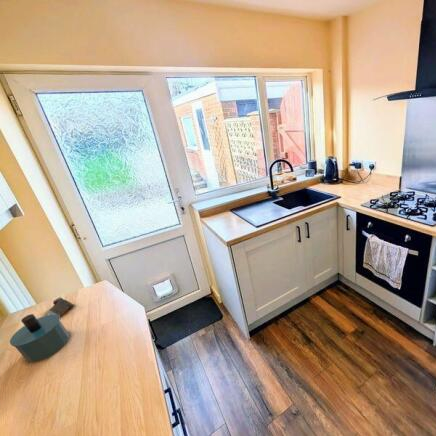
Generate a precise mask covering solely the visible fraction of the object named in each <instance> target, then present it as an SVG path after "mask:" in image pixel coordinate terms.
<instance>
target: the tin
mask: <svg viewBox="0 0 436 436" xmlns="http://www.w3.org/2000/svg"><path fill="white" fill-rule="evenodd" d="M69 339H70V333H69V331H68V330H67V329H66V327H65V326H64V325H63V323H62V321H61V320H60V322H59V324H58V325H57V327H56V328H55V329H54V330H52V331H51V332H50V333H49V334H47V335H46V336H44V337H42V338H41V339H39V340H37V341H35V342H33V343H30V344H28V345H24V346H19V347H15V349H16V350H17V352H19V353H20V355H21V356H22V357H23V358H24V359H25V360H26V362H29V363H35V362H36V363H37V362H39V361H40V362H41V361H42V360H45V359H47V358H49V357H51V356H53V355H54V354H56V353H58V352H59V351H60V350H61V349H62V348H63V347H64V346H65V345H66V344H67V343H68V341H69Z"/></svg>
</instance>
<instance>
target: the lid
mask: <svg viewBox="0 0 436 436" xmlns="http://www.w3.org/2000/svg"><path fill="white" fill-rule="evenodd" d="M20 321H21V323H22V324H23V326H22V327H20V328H19V329H18V330H17V331H15V333H14V334H13V335H11V338H10V339H9V344H10V345H11V346H12V347H15V348H16V347H19V346H24V345H28V344H30V343H33V342H35V341H37V340H39V339H41V338H42V337H44V336H46V335H47V334H49V333H50V332H51V331H52V330H54V329H55V328H56V327H57V325H58V324H59V322H60V321H61V316H60V317H59V316H58V315H55V314H52V315H44V316H41V317H38V318H37V317H36V316H35V314H33V313H30V314H28V315H25V316H24V317H23V318H21V320H20Z"/></svg>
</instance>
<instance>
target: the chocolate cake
mask: <svg viewBox="0 0 436 436" xmlns="http://www.w3.org/2000/svg"><path fill="white" fill-rule="evenodd" d="M52 304H53V306H51V308H49V309H48V310H47V311H46V312H45V316H47V315H52V314H55V315H58V316H59V317H60V318H61V316H63V315H64V314H65V313H66V311H68V309H69V308H73V307H75V304H73V303H72V302H70V301H69V300H67V299H64V298H62V297H60V296H59V297H58V298H56V299H53V301H52Z"/></svg>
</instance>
